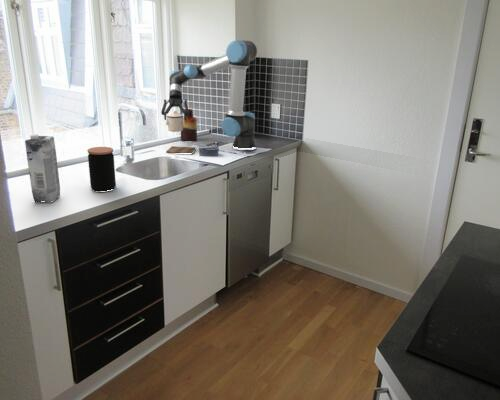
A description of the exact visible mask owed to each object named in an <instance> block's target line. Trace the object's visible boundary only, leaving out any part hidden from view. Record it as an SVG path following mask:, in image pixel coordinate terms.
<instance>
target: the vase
mask: <svg viewBox="0 0 500 400" xmlns="http://www.w3.org/2000/svg"><path fill="white" fill-rule="evenodd" d="M184 110H185V112H186V109H184ZM188 110H189V115H186V120H184V125H183V130H182V131H180V141H181V142H185V141H194V142H197V141H196V140H198V128H197V127H198V120H197V117H194V112H193V111H194V110H193V109H191V108H190V109H189V108H188ZM182 118H183V117H182Z"/></svg>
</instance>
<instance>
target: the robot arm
mask: <svg viewBox="0 0 500 400" xmlns="http://www.w3.org/2000/svg"><path fill="white" fill-rule="evenodd" d="M257 55H258V48H257V46H256V44H255V43H254V42H253V41H250V40H241V39H237V40H233V41H231V42H230V43H229V44H228V45H227V47H226V49H225V54H224V55H223V54H222V55H221V56H218V57H216V58H214V59H212V60H210V61H207V62H204V63H203V64H201V65H198V66H195V65H194V64H192V63H191V64H188V65H186V66H184V67H183V68H181V69H180V70H176V69H175V70H172V71H171V72H170V74H169V89H168V90H169V93H168V94H169V95H168V96H169V97H168V99H163V106H162V108H161V112H160V113H161V116H163V117H164V119H163V120H164V121H165V124H166V126H168V117H167V116H168V115H169V113H170V111H171V109H173V108H179V110H180V111H181V113H182V115H183V125H184V120H186V115H189V110H188V109H189V107H188V102H187V101H188V100H187V99H185V100H183V99H182V98H183V94H182V93H183V89H182V88H183V85H184V84H185V83H186V82H189V81H191V80H202V79H205V78H207V77H208V76H211V75H213V74H215V73H217V72H220V71H223V70H225V69H228V68H230V69H231V70H230V82H229V83H230V84H229V95H228V97H229V98H228V109H227V111H226V112H225V115H224V116H225V118H224V119H223V120H222V121H221V130H222V132H223V133H224V134H225V135H226V136H228V137H230V138H231V137H232V138H234V139H233V143H232V147H233V146H234V147H238V148H252V147H256V148H257V143H256V139H255V127H256V126H255V123H256V121H255V120H256V116H255V113H253V112H248V111H244V102H245V101H244V100H245V89H246V88H245V87H246V77H247V76H246V75H247V69H249V67H250V62H252V61H254V59H256V57H257ZM168 103H169V105H168ZM182 104H183V105H184V107H183V105H182ZM184 108H185V109H186V112H185V109H184Z"/></svg>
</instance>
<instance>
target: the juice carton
mask: <svg viewBox="0 0 500 400" xmlns="http://www.w3.org/2000/svg"><path fill="white" fill-rule="evenodd" d="M29 138H30V139H29ZM29 138H28V139H26V140H25V141H24V143H25V152H26V159H27V165H28V174H29V179H30V187H31V194H32V198H33V201H35V202H34V203H36V202H41V201H45V202H51V201H54V200H55V199H56V198H57V197H58V196H59V197H60V195H61V184H60V177H59V174H60V173H59V165H58V158H57V149H56V142H55V136H49V135H39V134H36V133H34V134H30V135H29ZM59 197H58V198H59ZM58 198H57V199H58ZM57 199H56V200H57ZM56 200H55V201H56ZM55 201H54V202H55Z"/></svg>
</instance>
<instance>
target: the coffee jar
mask: <svg viewBox="0 0 500 400" xmlns="http://www.w3.org/2000/svg"><path fill="white" fill-rule="evenodd" d="M113 152H114V149H113V148H112V147H108V146H95V147H94V146H93V147H90V148H88V149H87V153H88V154H87V159H88V160H87V162H88V171H89V183H90V188H91V190H92V191H93V190H94V192H95V191H107V190H111V189H114V190H115V188H116V187H117V185H116V183H117V182H116V170H115V167H116V166H115V156H114V153H113Z"/></svg>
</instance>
